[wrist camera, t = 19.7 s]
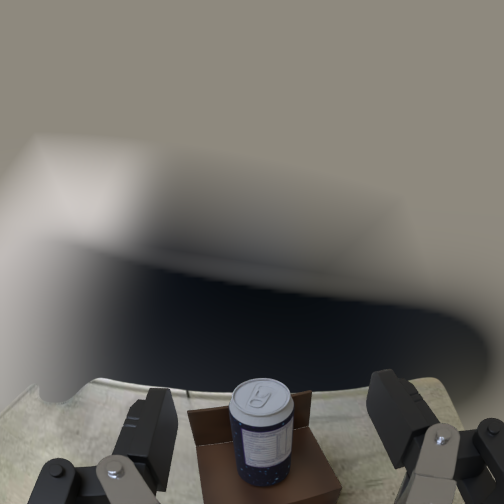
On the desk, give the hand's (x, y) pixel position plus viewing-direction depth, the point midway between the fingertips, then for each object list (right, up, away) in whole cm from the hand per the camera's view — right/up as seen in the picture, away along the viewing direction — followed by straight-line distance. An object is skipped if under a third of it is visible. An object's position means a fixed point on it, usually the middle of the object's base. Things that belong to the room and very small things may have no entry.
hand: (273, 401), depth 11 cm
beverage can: (0, -18, +16) cm, 24 cm away
